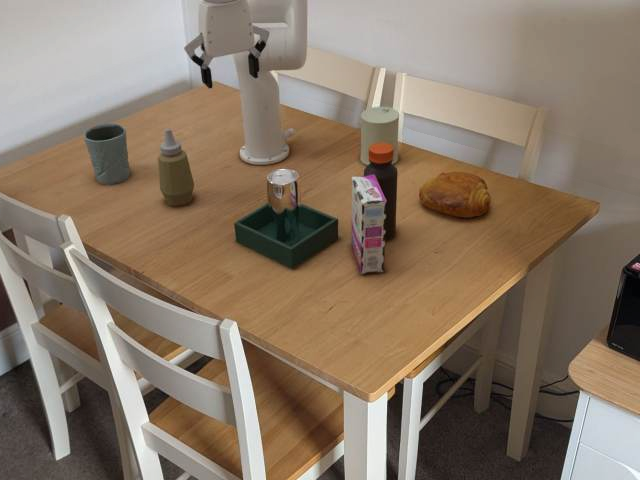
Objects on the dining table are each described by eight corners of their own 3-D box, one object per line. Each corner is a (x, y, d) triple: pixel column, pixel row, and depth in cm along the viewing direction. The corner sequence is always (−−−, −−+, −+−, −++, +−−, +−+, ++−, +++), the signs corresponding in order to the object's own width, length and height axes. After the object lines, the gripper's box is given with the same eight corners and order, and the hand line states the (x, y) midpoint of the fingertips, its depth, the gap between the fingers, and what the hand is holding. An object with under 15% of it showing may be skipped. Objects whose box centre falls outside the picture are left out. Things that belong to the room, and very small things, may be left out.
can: (404, 154, 198) (406, 108, 191) (388, 170, 192) (389, 123, 185) (370, 147, 202) (370, 102, 195) (353, 163, 196) (353, 117, 189)
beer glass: (306, 232, 173) (304, 169, 164) (297, 249, 168) (294, 186, 159) (276, 228, 175) (271, 166, 166) (266, 245, 170) (261, 183, 161)
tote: (282, 213, 180) (280, 195, 177) (338, 238, 171) (338, 218, 168) (235, 241, 173) (233, 222, 170) (292, 269, 163) (291, 249, 160)
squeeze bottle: (191, 209, 185) (180, 138, 174) (158, 208, 187) (145, 137, 175) (200, 192, 191) (190, 121, 180) (167, 191, 193) (155, 121, 182)
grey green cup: (86, 183, 199) (75, 138, 192) (106, 164, 207) (97, 121, 199) (121, 187, 196) (112, 142, 189) (140, 168, 203) (132, 124, 196)
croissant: (468, 236, 171) (475, 205, 165) (407, 206, 178) (412, 176, 173) (502, 205, 179) (510, 176, 173) (442, 178, 186) (448, 149, 180)
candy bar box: (385, 272, 159) (387, 200, 149) (361, 275, 159) (361, 204, 149) (374, 242, 168) (375, 172, 158) (350, 245, 168) (350, 175, 158)
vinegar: (387, 245, 167) (389, 158, 155) (358, 237, 170) (358, 152, 158) (400, 229, 171) (403, 143, 159) (371, 222, 175) (372, 137, 162)
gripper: (258, -21, 154) (264, 66, 165) (172, -5, 150) (184, 84, 161) (272, -12, 149) (278, 78, 159) (184, 5, 145) (196, 96, 155)
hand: (231, 81), depth 160 cm, fingers open, 9 cm apart
